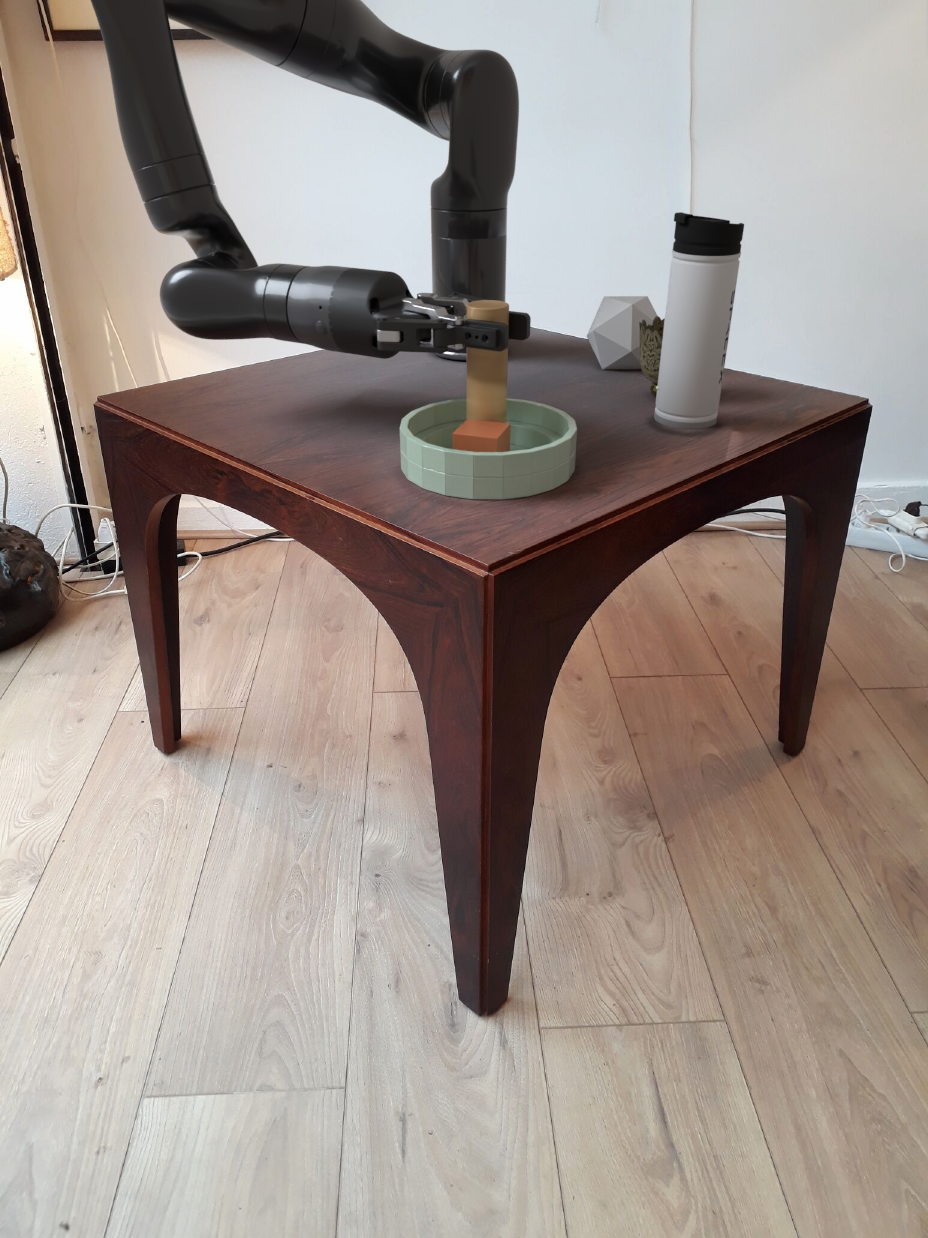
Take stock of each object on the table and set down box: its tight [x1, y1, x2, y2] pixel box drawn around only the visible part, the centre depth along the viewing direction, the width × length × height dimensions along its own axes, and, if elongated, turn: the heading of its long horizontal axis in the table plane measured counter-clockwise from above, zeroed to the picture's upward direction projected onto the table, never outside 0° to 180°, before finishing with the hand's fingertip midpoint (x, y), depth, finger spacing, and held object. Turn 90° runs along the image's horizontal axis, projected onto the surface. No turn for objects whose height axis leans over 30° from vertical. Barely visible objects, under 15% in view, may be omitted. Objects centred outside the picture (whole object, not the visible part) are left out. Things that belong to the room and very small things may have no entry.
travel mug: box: [653, 212, 745, 430], centre depth 88 cm, size 6×7×20 cm
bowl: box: [399, 397, 578, 501], centre depth 81 cm, size 15×15×4 cm
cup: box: [639, 315, 665, 398], centre depth 99 cm, size 8×7×8 cm
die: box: [586, 295, 658, 370], centre depth 110 cm, size 8×9×10 cm
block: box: [453, 419, 511, 452], centre depth 79 cm, size 4×4×4 cm
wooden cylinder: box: [465, 300, 510, 423], centre depth 80 cm, size 4×4×12 cm
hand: (517, 332), depth 77 cm, fingers closed on wooden cylinder, 3 cm apart
